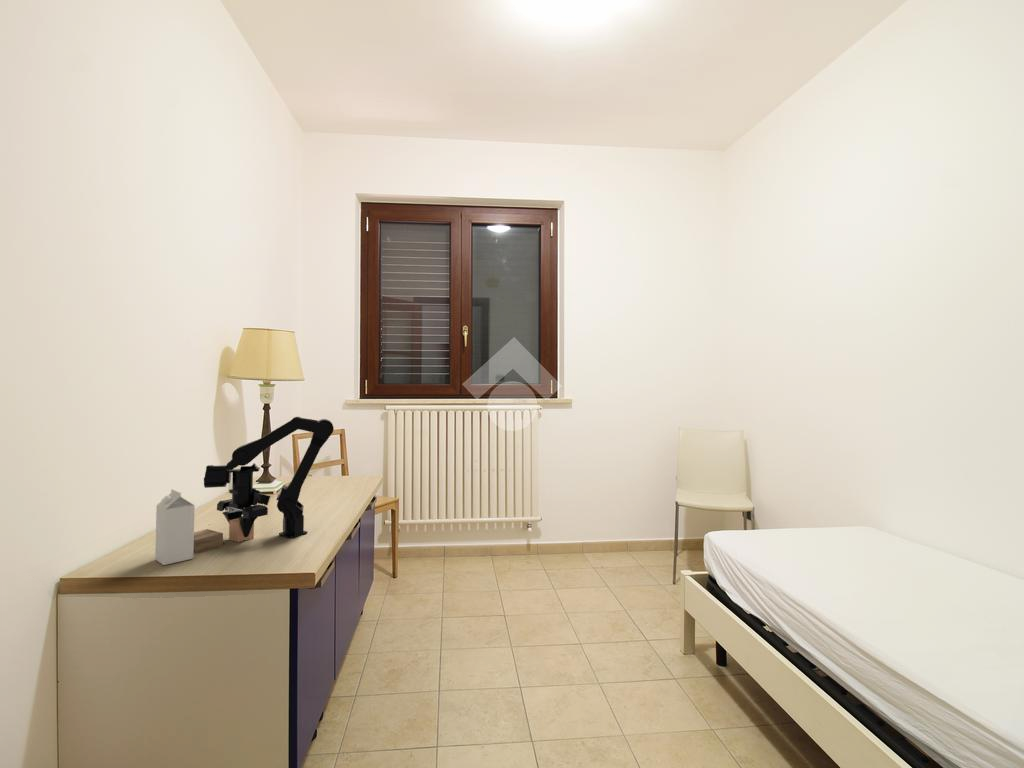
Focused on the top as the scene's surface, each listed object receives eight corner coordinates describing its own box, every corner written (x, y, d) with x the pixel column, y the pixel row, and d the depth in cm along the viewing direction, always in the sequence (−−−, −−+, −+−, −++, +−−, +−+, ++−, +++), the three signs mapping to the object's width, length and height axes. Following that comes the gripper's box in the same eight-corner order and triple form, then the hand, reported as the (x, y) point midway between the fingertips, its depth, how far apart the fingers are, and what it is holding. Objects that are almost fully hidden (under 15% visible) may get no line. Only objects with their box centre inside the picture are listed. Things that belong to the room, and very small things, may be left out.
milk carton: (184, 553, 143) (185, 487, 143) (193, 559, 139) (195, 490, 139) (154, 559, 138) (156, 490, 138) (163, 566, 133) (165, 494, 133)
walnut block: (222, 546, 151) (223, 533, 151) (195, 553, 144) (195, 539, 144) (206, 542, 155) (207, 529, 155) (179, 549, 148) (179, 535, 148)
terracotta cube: (253, 538, 158) (254, 519, 158) (238, 542, 154) (238, 522, 154) (244, 535, 161) (244, 516, 161) (228, 539, 157) (229, 520, 157)
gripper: (284, 485, 160) (282, 534, 160) (250, 479, 169) (249, 525, 169) (250, 491, 150) (249, 543, 150) (216, 484, 160) (215, 532, 160)
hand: (241, 535), depth 158 cm, fingers closed on terracotta cube, 5 cm apart
